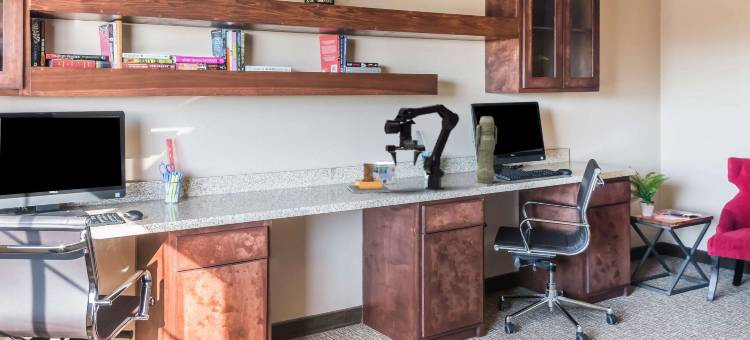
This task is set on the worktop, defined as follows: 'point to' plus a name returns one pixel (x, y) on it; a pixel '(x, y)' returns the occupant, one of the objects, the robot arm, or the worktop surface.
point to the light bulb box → (384, 172)
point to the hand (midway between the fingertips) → (405, 165)
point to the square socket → (368, 186)
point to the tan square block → (368, 172)
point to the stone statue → (486, 149)
